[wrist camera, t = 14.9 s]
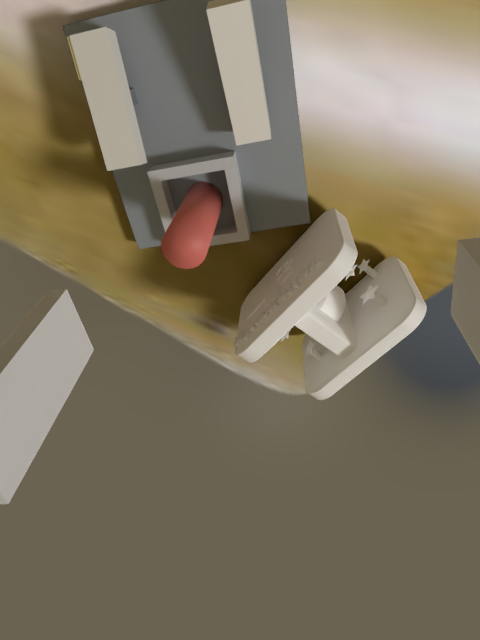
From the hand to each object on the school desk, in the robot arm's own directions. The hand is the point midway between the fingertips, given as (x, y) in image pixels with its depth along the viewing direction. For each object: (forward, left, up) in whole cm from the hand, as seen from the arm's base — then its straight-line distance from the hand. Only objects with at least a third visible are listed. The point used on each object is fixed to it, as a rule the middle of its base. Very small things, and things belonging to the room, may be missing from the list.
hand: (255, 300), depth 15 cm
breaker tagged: (-5, -13, -27) cm, 30 cm away
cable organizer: (+16, +3, -31) cm, 35 cm away
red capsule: (+5, -7, -29) cm, 30 cm away
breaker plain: (-5, -1, -26) cm, 27 cm away
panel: (-1, -6, -31) cm, 31 cm away
